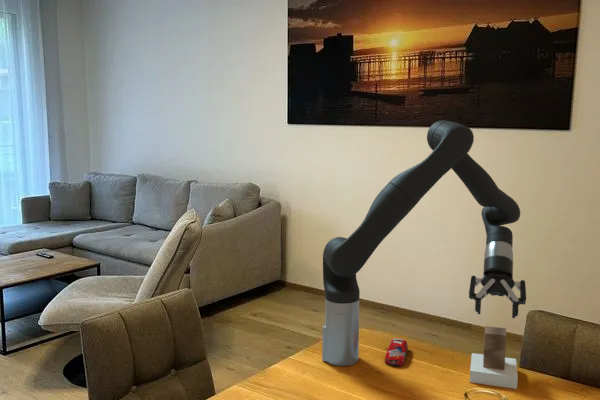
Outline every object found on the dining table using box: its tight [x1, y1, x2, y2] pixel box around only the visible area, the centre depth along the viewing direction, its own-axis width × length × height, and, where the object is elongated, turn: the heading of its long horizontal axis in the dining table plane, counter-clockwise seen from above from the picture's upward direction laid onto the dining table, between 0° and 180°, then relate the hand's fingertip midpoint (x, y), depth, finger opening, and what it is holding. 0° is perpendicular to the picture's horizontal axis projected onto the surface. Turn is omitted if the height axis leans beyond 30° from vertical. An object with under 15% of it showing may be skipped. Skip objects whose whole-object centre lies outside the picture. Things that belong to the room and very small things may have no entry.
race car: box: [384, 338, 409, 367], centre depth 152 cm, size 13×5×4 cm, turn 162°
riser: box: [469, 352, 519, 390], centre depth 141 cm, size 11×11×3 cm
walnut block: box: [483, 325, 507, 370], centre depth 140 cm, size 5×5×9 cm
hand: (496, 315), depth 144 cm, fingers open, 8 cm apart
